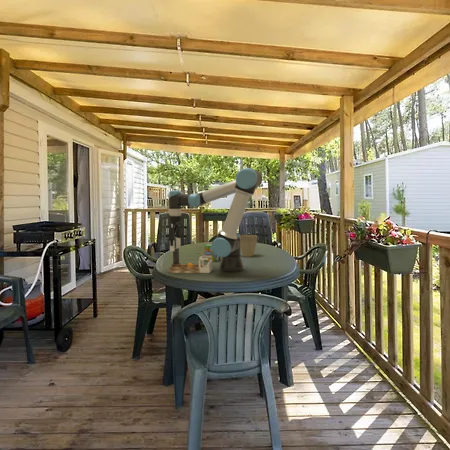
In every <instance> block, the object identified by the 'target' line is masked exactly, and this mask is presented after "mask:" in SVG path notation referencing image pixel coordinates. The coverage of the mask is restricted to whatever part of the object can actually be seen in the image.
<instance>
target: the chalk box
mask: <svg viewBox="0 0 450 450" xmlns="http://www.w3.org/2000/svg"><path fill="white" fill-rule="evenodd" d="M213 241H214V240H212V241H211V242H212V243H213ZM212 243H208V244H205V245H204V256H211V258H209V260H204V262H209V261H210V260H212V263H213V262H218V261H220V260H221V257H218V256H217V255H215V254H214V252H213V250H212ZM204 258H208V257H204Z"/></svg>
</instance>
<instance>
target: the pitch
mask: <svg viewBox="0 0 450 450" xmlns="http://www.w3.org/2000/svg"><path fill="white" fill-rule="evenodd" d="M187 264H188V263H187ZM187 264H186V263H181V267H172V266H169V267H168V268H169V269H168V273H169V274H170V273H171V274H201V273H200V268H199V264H193V267H187ZM201 267H203V265H202V264H201Z"/></svg>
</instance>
